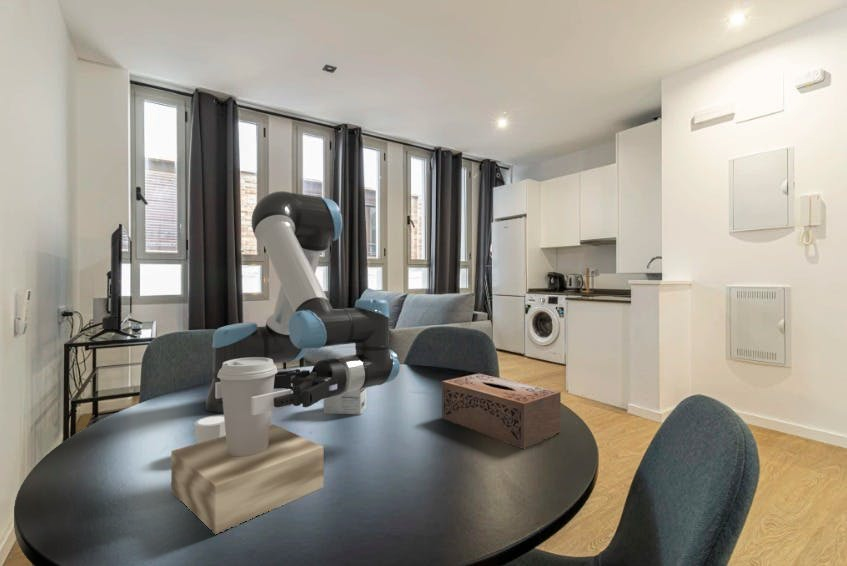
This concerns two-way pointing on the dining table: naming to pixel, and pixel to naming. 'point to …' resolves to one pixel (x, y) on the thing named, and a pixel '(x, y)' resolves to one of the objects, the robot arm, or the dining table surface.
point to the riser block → (245, 477)
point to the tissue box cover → (502, 408)
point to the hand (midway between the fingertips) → (232, 398)
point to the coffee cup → (246, 403)
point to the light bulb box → (346, 403)
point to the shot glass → (209, 428)
